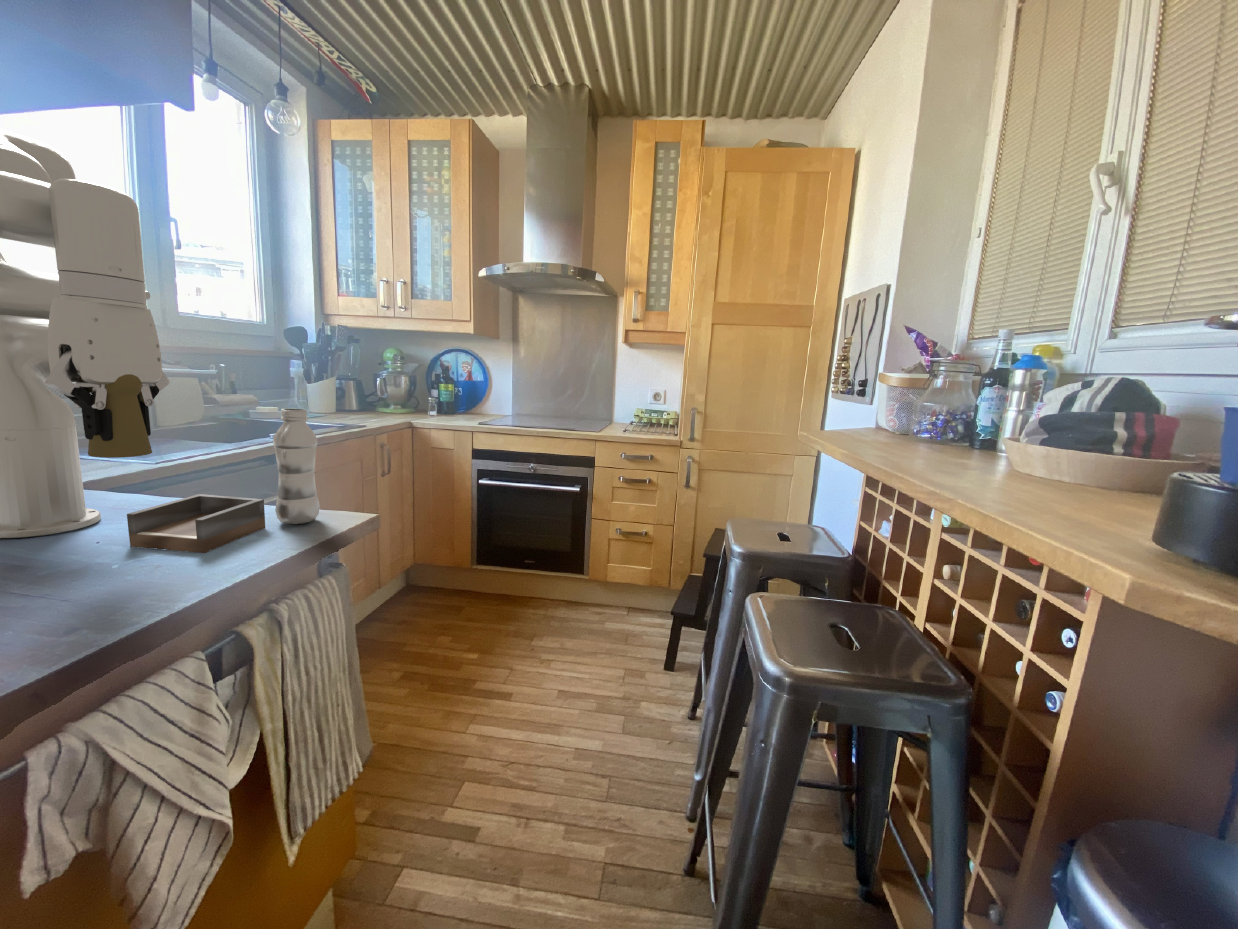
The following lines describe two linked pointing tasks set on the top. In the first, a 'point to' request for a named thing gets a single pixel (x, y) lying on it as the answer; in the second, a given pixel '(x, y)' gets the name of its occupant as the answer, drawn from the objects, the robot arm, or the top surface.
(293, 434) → the plastic bottle
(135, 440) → the cork
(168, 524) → the tray
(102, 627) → the top surface
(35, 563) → the top surface
